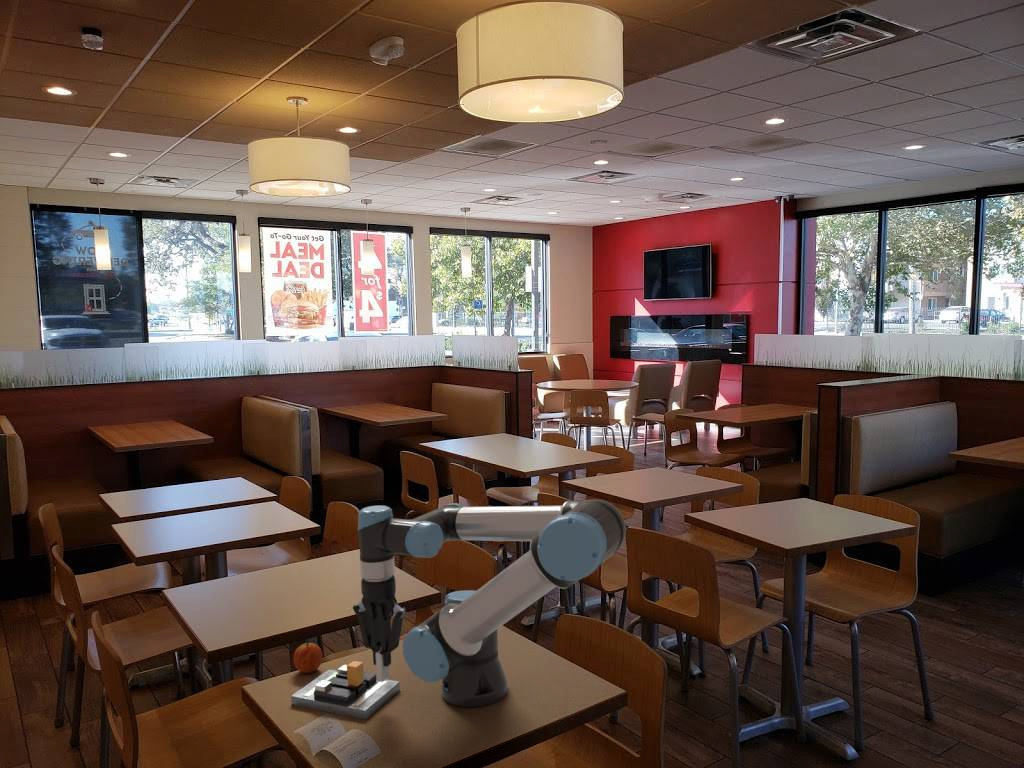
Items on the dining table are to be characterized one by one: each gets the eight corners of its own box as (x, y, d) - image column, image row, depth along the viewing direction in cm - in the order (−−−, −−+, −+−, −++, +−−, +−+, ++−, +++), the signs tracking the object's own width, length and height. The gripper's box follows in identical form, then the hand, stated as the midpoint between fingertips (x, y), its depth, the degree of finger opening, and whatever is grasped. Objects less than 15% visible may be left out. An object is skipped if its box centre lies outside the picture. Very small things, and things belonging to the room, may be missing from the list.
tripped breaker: (363, 681, 172) (362, 662, 172) (357, 686, 170) (356, 667, 170) (354, 679, 173) (353, 660, 173) (347, 684, 171) (346, 665, 171)
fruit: (295, 667, 190) (293, 636, 189) (323, 663, 191) (321, 633, 191) (293, 679, 183) (291, 647, 182) (322, 675, 184) (321, 644, 184)
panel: (399, 689, 175) (398, 670, 175) (365, 719, 163) (364, 698, 162) (329, 677, 183) (328, 658, 183) (291, 704, 171) (290, 684, 170)
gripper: (412, 573, 168) (416, 675, 169) (363, 568, 173) (368, 667, 175) (394, 584, 161) (399, 691, 163) (343, 578, 166) (349, 681, 168)
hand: (383, 678), depth 169 cm, fingers closed
